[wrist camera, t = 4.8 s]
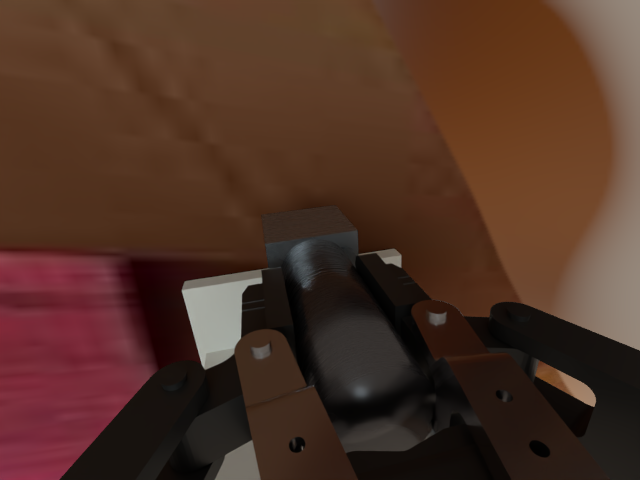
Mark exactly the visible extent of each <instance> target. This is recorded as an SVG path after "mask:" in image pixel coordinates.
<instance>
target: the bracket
mask: <svg viewBox="0 0 640 480" xmlns="http://www.w3.org/2000/svg"><path fill="white" fill-rule="evenodd" d="M371 253H377V254H378V255H379V257H380V258H381V259H382V260H383V261H384V262H385V263H386V264H390V263H392V264H394V265H396V266H398V267H400V268H401V254H400V253H399V252H398V251H397V250H396V249H388V250H382V251H375V252H369V253H363V254H358V255H364V254H371ZM267 269H269V268H267ZM261 270H264V269H260V270H254V271H247V272H241V273H235V274H228V275H222V276H215V277H209V278H203V279H196V280H190V281H185V282H184V285H183V288H182V293H183V297H184V300H185V304H186V308H187V311H188V315H189V319H190V322H191V326H192V330H193V334H194V337H195V341H196V345H197V348H198V352H199V356H200V359H201V363H202V366H203V367H204V369H205V370H206V369H208V368H211V367H213V366H215V365H218V364H220V363H222V362H224V361H225V360H227V359H228V358H230V357H231V356H232V355H233V354H234V349H235V346H236V344H237V342H238V341H239V340H240V339H241V315H242V293H243V292H244V291H245V289H246V288H247V286H248V285H254V284H261V283H262V273H261ZM426 439H427V437H426ZM215 480H261V479H260V475H259V470H258V465H257V460H256V455H255V450H254V446H253V441H252V440H251V441H249V442H248V443H246V444H244V445H242V446H240V447H239V448H237V449H235V450H233V451H231V452H230V453H228V454H226V455H225V458H224V461H223V464H222V466H221V468H220V470H219V472H218V474H217V476H216V478H215Z"/></svg>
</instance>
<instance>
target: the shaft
mask: <svg viewBox="0 0 640 480" xmlns="http://www.w3.org/2000/svg"><path fill="white" fill-rule="evenodd" d="M261 217H262V224H263V232H264V239H265V246H266V253H267V260H268V266H269V269H270V268H277V267H281V269H282V274H283V278H284V283H285V288H286V292H287V297H288V302H289V306H290V311H291V316H292V320H293V326H294V334H295V343H296V351H297V352H296V358H297V363H298V367H299V369H300V371H301V374H302V376H303V378H304V380H305V383H306V385H310V384H312V385H313V386H314V387H315V389H316V391H317V393H318V395H319V397H320V399H321V402H322V404H323V406H324V408H325V410H326V412H327V414H328V416H329V419H330V421H331V423H332V425H333V427H334V429H335V431H336V433H337V436H338V438H339V440H340V442H341V444H342V446H343V448H344V450H345V453H347V452H351V451H406V450H408V449H410V448H412V447H414V446H415V445H417V444H419V443H420V442H422V441H424V440H425V439H426V437H427V436H428V435H429V434H430V432H431V431H432V429H433V422H434V411H435V400H436V390H435V388H434V387H433V385H432V384H431V382H430V381H429V379H428V377H427V376H426V374H425V373H424V371H423V370H422V368H421V367H420V365H419V364H418V362H417V361H416V359H415V358H414V356H413V355H412V353H411V352H410V350H409V349H408V347H407V346H406V344H405V343H404V341H403V340H402V338H401V337H400V335H399V334H398V332H397V331H396V329H395V328H394V326H393V325H392V323H391V322H390V320H389V318H388V317H387V315H386V314H385V312H384V311H383V309H382V308H381V306H380V305H379V303H378V302H377V300H376V299H375V297H374V296H373V294H372V293H371V291H370V290H369V288H368V287H367V285H366V284H365V282H364V281H363V279H362V278H361V276H360V275H359V273H358V272H357V270H356V269H355V259H356V256H358V230H357V229H356V228H355V227H354V226H353V225H352V223H351V222H350V221H349V220H348V219H347V218H346V217H345V215H344V214H343V213H342V212H341V211H340V210H339V209H338V207H337V206H336V205H332V206H325V207H317V208H310V209H302V210H294V211H287V212H279V213H271V214H264V215H261Z"/></svg>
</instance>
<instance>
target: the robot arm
mask: <svg viewBox="0 0 640 480" xmlns="http://www.w3.org/2000/svg"><path fill="white" fill-rule="evenodd" d="M355 269H356V270H357V272H358V273H359V275H360V276H361V278H362V279H363V281H364V282H365V284H366V285H367V287H368V288H369V290H370V291H371V293H372V294H373V296H374V297H375V299H376V300H377V302H378V303H379V305H380V306H381V308H382V309H383V311H384V312H385V314H386V315H387V317H388V318H389V320H390V322H391V323H392V325H393V326H394V328H395V329H396V331H397V332H398V334H399V335H400V337H401V338H402V340H403V341H404V343H405V344H406V346H407V347H408V349H409V350H410V352H411V353H412V355H413V356H414V358H415V359H416V361H417V362H418V364H419V365H420V367H421V368H422V370H423V371H424V373H425V374H426V376H427V377H428V379H429V381H430V382H431V384H432V385H433V387H434V388H435V390H436V400H435V411H434V422H433V429H432V431H431V432H430V434H429V435H428V436H427V439H425V440H424V441H422V442H420V443H419V444H417V445H415V446H414V447H412V448H410V449H408V450H406V451H351V452H347V453H345V450H344V448H343V446H342V444H341V442H340V440H339V438H338V436H337V433H336V431H335V429H334V427H333V425H332V423H331V421H330V419H329V416H328V414H327V412H326V410H325V408H324V406H323V404H322V402H321V399H320V397H319V395H318V393H317V391H316V389H315V387H314V386H313V385H312V384H310V385H306V383H305V380H304V378H303V376H302V374H301V371H300V369H299V367H298V363H297V358H296V352H297V351H296V343H295V334H294V326H293V320H292V316H291V311H290V306H289V302H288V297H287V292H286V288H285V283H284V278H283V274H282V269H281V267H277V268H270V269H264V270H261V273H262V283H261V284H254V285H248V286H247V288H246V289H245V291H244V292H243V293H242V315H241V339H240V340H239V341H238V342H237V344H236V346H235V349H234V354H233V355H232V356H231V357H230V358H228V359H227V360H225V361H224V362H222V363H220V364H218V365H215V366H213V367H211V368H208V369H206V370H205V369H204V367H203V366H202V365H201V364H200V363H198V362H195V361H179V362H175V363H172V364H170V365H167V366H165V367H163V368H162V369H160V370H159V371H157V372H156V373H155V374H154V375H153V376H152V377H151V378H150V379H149V380H148V381H147V382H146V383H145V384H144V385H143V386H142V388H141V389H140V390H139V391H138V392H137V393H136V394H135V395H134V397H133V398H132V399H131V400H130V401H129V402H128V403H127V404H126V406H125V407H124V408H123V409H122V410H121V411H120V412H119V413H118V415H117V416H116V417H115V418H114V419H113V420H112V421H111V422H110V423H109V425H108V426H107V427H106V428H105V429H104V430H103V431H102V432H101V434H100V435H99V436H98V437H97V438H96V439H95V440H94V441H93V443H92V444H91V445H90V446H89V447H88V448H87V449H86V450H85V452H84V453H83V454H82V455H81V456H80V457H79V458H78V459H77V461H76V462H75V463H74V464H73V465H72V466H71V467H70V468H69V470H68V471H67V472H66V473H65V474H64V475H63V476H62V477H61V478H60V480H215V478H216V476H217V474H218V472H219V470H220V468H221V466H222V464H223V461H224V458H225V455H226V454H228V453H230V452H231V451H233V450H235V449H237V448H239V447H240V446H242V445H244V444H246V443H248V442H249V441H251V440H252V441H253V446H254V450H255V455H256V460H257V465H258V470H259V475H260V479H261V480H640V351H639V350H637V349H634V348H632V347H629V346H627V345H625V344H622V343H619V342H617V341H615V340H612V339H610V338H607V337H605V336H602V335H599V334H597V333H595V332H592V331H590V330H587V329H585V328H582V327H580V326H577V325H575V324H573V323H570V322H568V321H565V320H563V319H560V318H558V317H555V316H553V315H550V314H548V313H545V312H543V311H540V310H538V309H535V308H533V307H530V306H528V305H525V304H521V303H516V302H501V303H497V304H495V305H493V306H492V308H491V311H490V317H467V316H463V315H462V314H461V312H460V311H459V310H458V309H457V308H456V307H455V306H453V305H451V304H449V303H446V302H443V301H439V300H432V299H431V298H430V297H429V296H428V295H427V294H426V293H425V292H424V291H423V290H422V289H421V288H420V287H419V285H418V284H417V283H415V281H414V280H413V279H412V278H411V277H409V275H408V274H407V273H406V272H405V271H404V270H403V269H402V268H400V267H398V266H396V265H394V264H392V263H390V264H386V263H385V262H384V261H383V260H382V259H381V258H380V257H379V255H378V254H377V253H371V254H364V255H358V256H356V259H355ZM539 360H540V361H542V362H544V363H546V364H548V365H550V366H552V367H554V368H556V369H557V370H559V371H561V372H563V373H565V374H567V375H569V376H571V377H573V378H575V379H577V380H579V381H581V382H583V383H584V384H586V385H587V386H588V387H589V388H590V389H591V390H592V391H593V393H594V394H595V397H596V404H595V407H592V406H590V405H587V404H585V403H584V402H582V401H580V400H578V399H576V398H574V397H573V396H571V395H569V394H567V393H565V392H563V391H562V390H560V389H558V388H556V387H554V386H552V385H551V384H549V383H547V382H545V381H543V380H541V379H540V378H538V377H536V376H535V374H536V370H537V366H538V362H539Z"/></svg>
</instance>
